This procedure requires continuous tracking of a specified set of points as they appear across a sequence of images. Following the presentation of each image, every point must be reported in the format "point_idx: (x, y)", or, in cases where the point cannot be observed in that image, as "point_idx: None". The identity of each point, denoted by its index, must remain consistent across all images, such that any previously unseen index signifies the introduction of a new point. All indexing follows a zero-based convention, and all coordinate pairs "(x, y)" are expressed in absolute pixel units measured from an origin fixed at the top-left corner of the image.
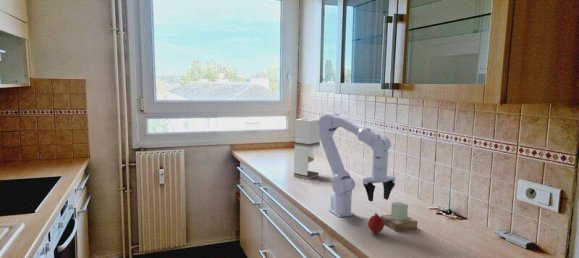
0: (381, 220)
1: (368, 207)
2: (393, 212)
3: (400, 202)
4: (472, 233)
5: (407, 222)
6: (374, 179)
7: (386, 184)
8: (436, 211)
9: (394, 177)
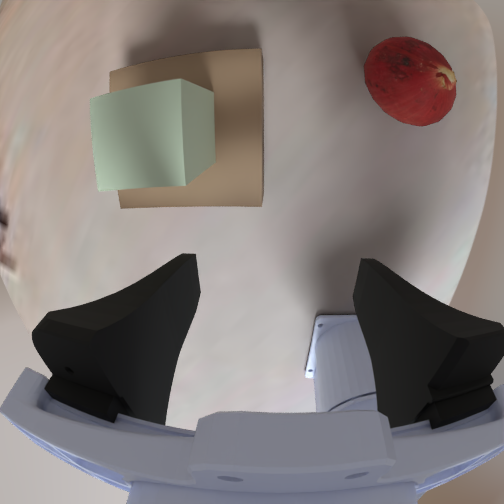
0: (411, 41)
1: (199, 358)
2: (205, 143)
3: (108, 172)
4: (14, 36)
5: (176, 56)
6: (471, 459)
7: (143, 388)
8: (4, 238)
9: (8, 414)
